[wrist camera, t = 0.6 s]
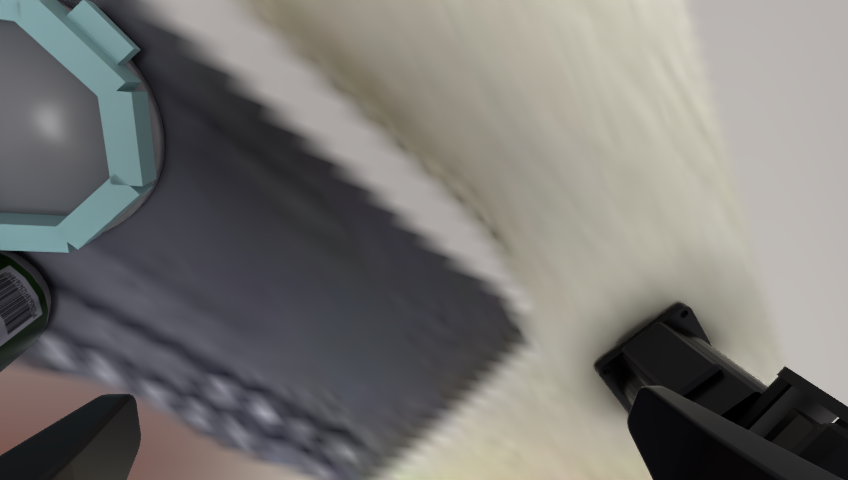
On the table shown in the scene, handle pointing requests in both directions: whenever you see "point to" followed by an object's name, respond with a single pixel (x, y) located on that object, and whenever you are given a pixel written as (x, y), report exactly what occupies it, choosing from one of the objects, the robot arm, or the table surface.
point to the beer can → (20, 306)
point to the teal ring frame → (71, 126)
